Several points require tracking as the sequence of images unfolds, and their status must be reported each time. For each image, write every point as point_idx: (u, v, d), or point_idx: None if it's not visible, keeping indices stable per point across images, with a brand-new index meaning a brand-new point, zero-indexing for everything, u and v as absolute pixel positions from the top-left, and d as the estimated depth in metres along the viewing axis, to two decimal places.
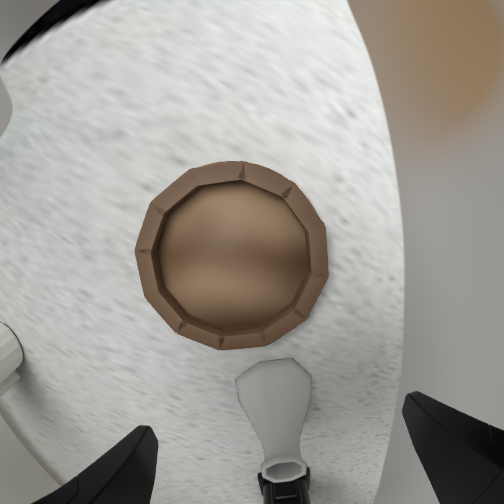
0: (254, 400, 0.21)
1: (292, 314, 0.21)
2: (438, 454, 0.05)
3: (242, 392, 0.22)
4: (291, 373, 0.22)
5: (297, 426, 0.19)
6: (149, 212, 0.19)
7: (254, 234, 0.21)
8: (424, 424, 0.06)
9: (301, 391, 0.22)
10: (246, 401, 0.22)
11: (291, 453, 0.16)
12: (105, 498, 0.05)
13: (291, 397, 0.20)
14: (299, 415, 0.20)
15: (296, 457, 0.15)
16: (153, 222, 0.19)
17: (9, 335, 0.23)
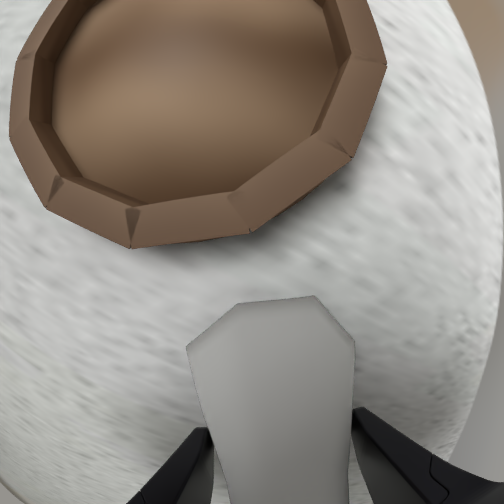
0: (220, 397, 0.08)
1: (317, 139, 0.07)
2: (377, 477, 0.05)
3: (196, 376, 0.09)
4: (317, 326, 0.09)
5: (342, 470, 0.05)
6: (54, 1, 0.06)
7: (226, 10, 0.08)
8: (365, 444, 0.06)
9: (342, 372, 0.09)
10: (202, 398, 0.08)
11: None
12: None
13: (321, 388, 0.07)
14: (342, 436, 0.07)
15: None
16: (53, 10, 0.06)
17: None
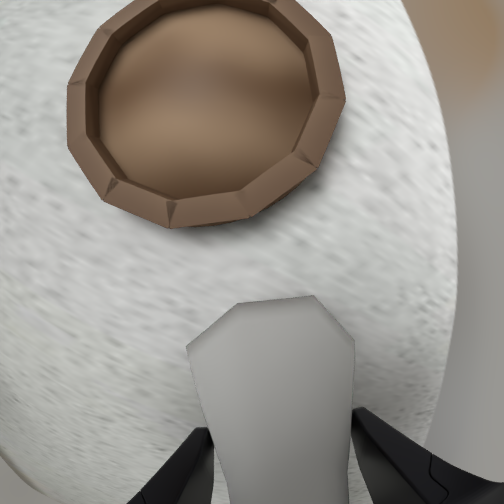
0: (220, 397, 0.08)
1: (293, 156, 0.12)
2: (377, 477, 0.05)
3: (196, 375, 0.09)
4: (316, 326, 0.09)
5: (341, 469, 0.05)
6: (95, 36, 0.10)
7: (232, 56, 0.12)
8: (364, 444, 0.06)
9: (342, 372, 0.09)
10: (202, 398, 0.08)
11: None
12: None
13: (321, 388, 0.07)
14: (342, 435, 0.07)
15: None
16: (97, 46, 0.10)
17: None
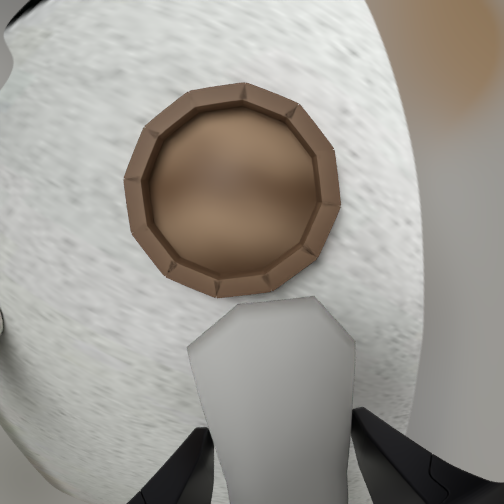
0: (220, 397, 0.08)
1: (301, 250, 0.18)
2: (377, 477, 0.05)
3: (196, 376, 0.09)
4: (317, 327, 0.09)
5: (341, 470, 0.05)
6: (142, 136, 0.16)
7: (257, 162, 0.18)
8: (364, 444, 0.06)
9: (342, 373, 0.09)
10: (202, 398, 0.08)
11: None
12: None
13: (321, 389, 0.07)
14: (342, 436, 0.07)
15: None
16: (146, 146, 0.16)
17: None
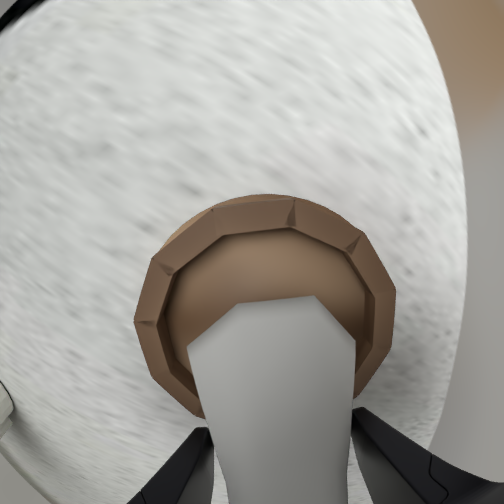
0: (220, 397, 0.08)
1: None
2: (377, 477, 0.05)
3: (196, 376, 0.09)
4: (317, 326, 0.09)
5: (341, 470, 0.05)
6: (151, 271, 0.13)
7: None
8: (364, 444, 0.06)
9: (342, 372, 0.09)
10: (202, 398, 0.08)
11: None
12: None
13: (320, 388, 0.07)
14: (341, 437, 0.06)
15: None
16: (158, 286, 0.13)
17: None
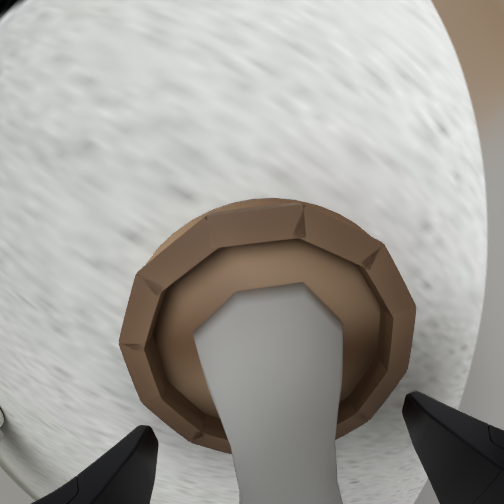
0: (223, 371, 0.10)
1: (353, 417, 0.13)
2: (438, 454, 0.05)
3: (202, 356, 0.11)
4: (304, 307, 0.11)
5: (329, 429, 0.07)
6: (136, 288, 0.11)
7: None
8: (424, 424, 0.06)
9: (329, 347, 0.10)
10: (208, 374, 0.10)
11: None
12: (105, 498, 0.05)
13: (308, 358, 0.09)
14: (329, 401, 0.08)
15: None
16: (144, 305, 0.11)
17: None
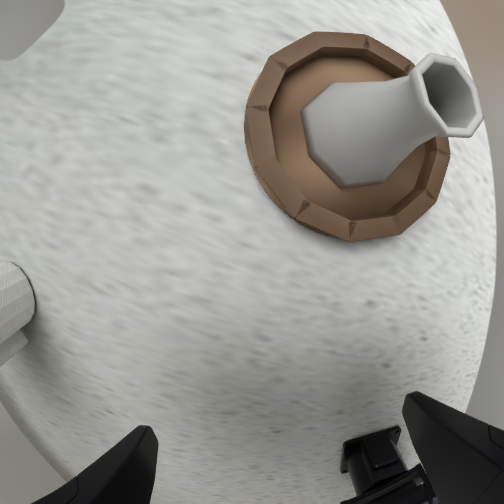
0: (341, 96, 0.13)
1: (424, 193, 0.16)
2: (438, 454, 0.05)
3: (318, 105, 0.14)
4: None
5: None
6: (268, 65, 0.14)
7: None
8: (424, 424, 0.06)
9: None
10: (329, 103, 0.13)
11: (443, 69, 0.07)
12: (105, 498, 0.05)
13: None
14: None
15: None
16: (273, 76, 0.14)
17: (18, 275, 0.18)
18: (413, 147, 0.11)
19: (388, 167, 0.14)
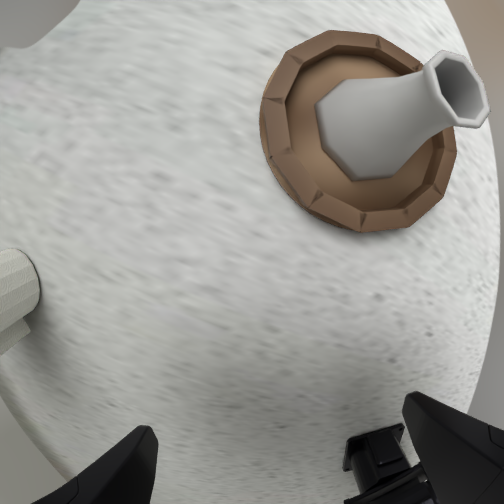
0: (355, 91, 0.13)
1: (432, 188, 0.16)
2: (438, 454, 0.05)
3: (332, 99, 0.14)
4: None
5: None
6: (285, 60, 0.14)
7: None
8: (424, 424, 0.06)
9: None
10: (343, 97, 0.13)
11: (453, 66, 0.07)
12: (104, 498, 0.05)
13: None
14: None
15: None
16: (289, 70, 0.14)
17: (24, 262, 0.18)
18: (424, 139, 0.11)
19: (399, 160, 0.14)
